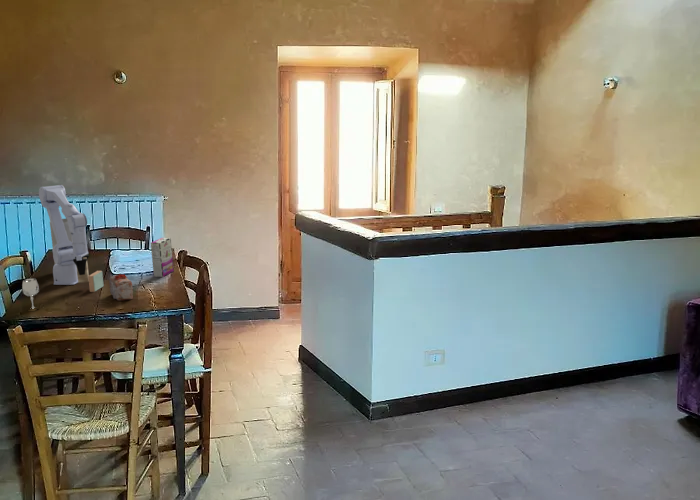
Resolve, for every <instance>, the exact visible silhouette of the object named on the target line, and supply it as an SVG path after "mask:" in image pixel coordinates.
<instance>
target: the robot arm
mask: <svg viewBox="0 0 700 500" xmlns="http://www.w3.org/2000/svg"><path fill="white" fill-rule="evenodd" d="M66 196H67V192H66V188H65V186H64V185H63V184H57V185H47V186H40V187H39V189H38V197H39V201H40V204H41V206H42V207H43V208H45V209H46V212H47V215H48V218H49V223H50V222H51V225H52V228H53V232H54V235H55V238H56V241H57V244H56V245H55V246H54V247H53V246H52V251H51V252H52V257H53V262H54V261H55V263H56V264H55V263H54V265H53V266H52V267H53V268H52V276H53V285H57V286H58V285H59V286H61V285H64V286H65V285H66V286H69V285H71V286H72V285H73V286H74V285H76V284H79V283H78V275H77V269H78V272H79V275H85V268H86V262H87V263H88V260H89V257H90V255H89V251H88V250H89V249H88V241H87V233H86V227H87V226H88V218H87V216H86V214H85V213H82V212H80V211H79V210H78V209H77V208H76V206H75V205H74V203H70V202H69V200H68V199H67V198H68V197H66ZM60 208H61V209H60ZM60 210H61V211H60ZM61 213H62V214H61ZM62 215H63V216H64V217H65V219H67V220H68V221H67V223H68V226H69V230H70V232H71V236H72V242H71V241H69V240H68V237H67V234H66V230H65V227H64V224H63V221H62V219H63V218H62ZM83 257H87V259H83ZM76 266H77V267H76Z"/></svg>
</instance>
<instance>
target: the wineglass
mask: <svg viewBox="0 0 700 500" xmlns="http://www.w3.org/2000/svg"><path fill="white" fill-rule="evenodd" d="M21 286H22V287H21V288H22V293H23V295H25V296H27V297H30V301H31V308H32V309H34V308H36V307H35V306H34V297H35V296H36V295H38V293H39V292H40V287H39V283H38V281H37V279H36V278H26V279H24V280H22V284H21Z"/></svg>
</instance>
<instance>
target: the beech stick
mask: <svg viewBox="0 0 700 500" xmlns="http://www.w3.org/2000/svg"><path fill="white" fill-rule="evenodd" d="M83 259H87V257H83ZM89 275H90V274H89V265H88V261H87V262H86V268H85V275H79V272H78V269H77V277H78V283H77V284H80V283H89V279H88V276H89Z"/></svg>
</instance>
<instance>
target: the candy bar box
mask: <svg viewBox="0 0 700 500" xmlns="http://www.w3.org/2000/svg"><path fill="white" fill-rule="evenodd" d="M172 249H173V248H172V239H171V237H160V238H158V239H156V240H154V241H151V242H150V250H151V258H152V259H151V261H152V270H153V277H154V278H164V277H166V276H168V275H169V274H171V273H174V271H175V270H174V269H175V268H174V262H173V261H174V260H173V250H172Z"/></svg>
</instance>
